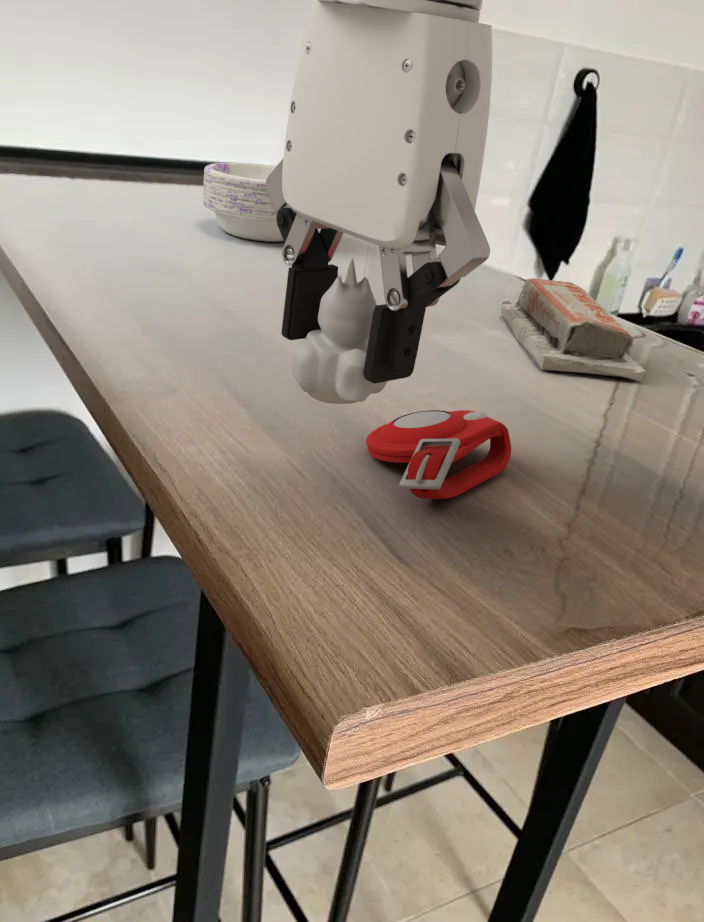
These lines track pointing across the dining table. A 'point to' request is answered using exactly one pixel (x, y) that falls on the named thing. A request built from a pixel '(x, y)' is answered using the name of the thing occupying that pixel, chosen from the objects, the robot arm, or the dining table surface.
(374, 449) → the tracker holder
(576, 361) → the packaged product
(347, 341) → the white figurine
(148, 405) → the dining table surface
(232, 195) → the paper bowls
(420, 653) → the dining table surface
